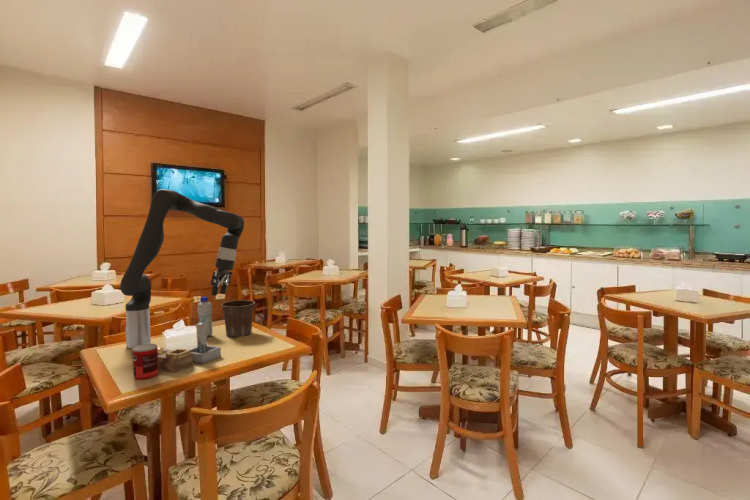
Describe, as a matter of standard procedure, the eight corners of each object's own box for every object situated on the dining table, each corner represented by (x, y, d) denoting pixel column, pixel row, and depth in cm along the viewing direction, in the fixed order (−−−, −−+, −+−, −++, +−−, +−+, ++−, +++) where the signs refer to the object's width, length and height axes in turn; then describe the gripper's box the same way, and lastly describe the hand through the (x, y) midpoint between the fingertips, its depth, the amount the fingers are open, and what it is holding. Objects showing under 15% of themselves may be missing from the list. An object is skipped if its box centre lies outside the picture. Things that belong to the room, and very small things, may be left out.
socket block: (145, 367, 150) (144, 351, 150) (162, 360, 158) (161, 345, 157) (177, 372, 145) (176, 355, 144) (193, 365, 152) (193, 349, 152)
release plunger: (153, 363, 152) (152, 349, 152) (159, 360, 155) (159, 347, 155) (159, 363, 151) (158, 350, 151) (165, 361, 154) (164, 347, 154)
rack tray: (183, 361, 157) (183, 352, 156) (202, 353, 166) (201, 344, 166) (202, 364, 153) (202, 354, 153) (220, 356, 163) (220, 347, 162)
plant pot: (262, 333, 196) (261, 302, 196) (232, 341, 184) (231, 307, 183) (245, 328, 207) (244, 298, 206) (216, 335, 195) (215, 303, 194)
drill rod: (195, 358, 159) (194, 324, 158) (202, 355, 162) (200, 322, 161) (202, 358, 157) (201, 325, 156) (209, 356, 161) (207, 322, 160)
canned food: (140, 372, 145) (138, 343, 145) (162, 371, 146) (161, 343, 145) (129, 380, 138) (127, 350, 137) (152, 379, 138) (151, 349, 138)
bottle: (207, 338, 189) (206, 298, 188) (195, 337, 190) (193, 297, 189) (215, 334, 196) (214, 295, 194) (204, 334, 197) (202, 295, 196)
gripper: (224, 257, 177) (217, 292, 176) (210, 256, 163) (202, 294, 162) (240, 260, 177) (233, 295, 176) (227, 259, 163) (219, 297, 162)
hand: (218, 294), depth 169 cm, fingers open, 8 cm apart
